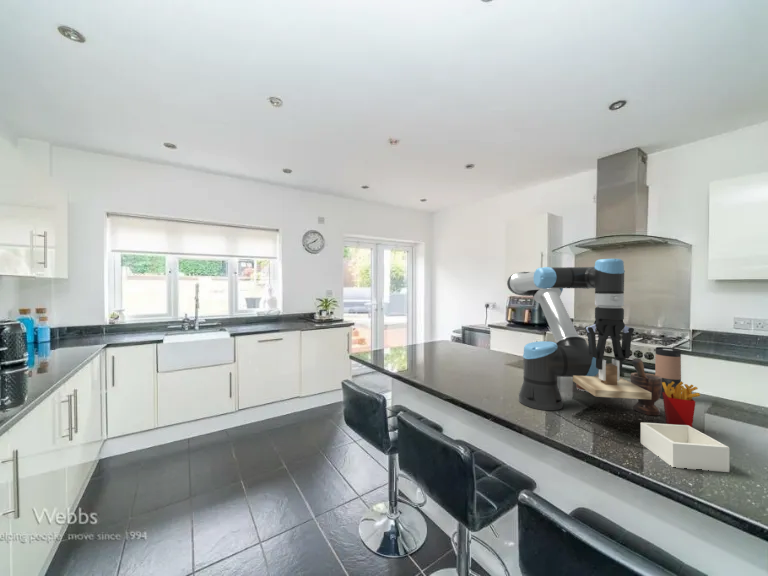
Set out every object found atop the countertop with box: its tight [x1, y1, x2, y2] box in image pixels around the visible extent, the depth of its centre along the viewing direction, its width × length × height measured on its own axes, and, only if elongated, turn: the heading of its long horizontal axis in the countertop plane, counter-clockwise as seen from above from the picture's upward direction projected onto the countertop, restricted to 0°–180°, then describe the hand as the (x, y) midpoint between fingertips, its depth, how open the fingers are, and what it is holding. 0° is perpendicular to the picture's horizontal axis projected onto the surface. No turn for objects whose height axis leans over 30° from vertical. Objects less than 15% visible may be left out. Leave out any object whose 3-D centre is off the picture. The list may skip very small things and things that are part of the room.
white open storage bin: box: [640, 422, 730, 473], centre depth 81 cm, size 12×12×6 cm
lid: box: [572, 363, 651, 400], centre depth 98 cm, size 15×15×8 cm
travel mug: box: [654, 346, 682, 400], centre depth 123 cm, size 8×8×20 cm
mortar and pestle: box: [629, 357, 662, 416], centre depth 109 cm, size 12×9×20 cm
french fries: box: [662, 380, 701, 428], centre depth 96 cm, size 9×8×15 cm
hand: (608, 379), depth 98 cm, fingers closed on lid, 3 cm apart
